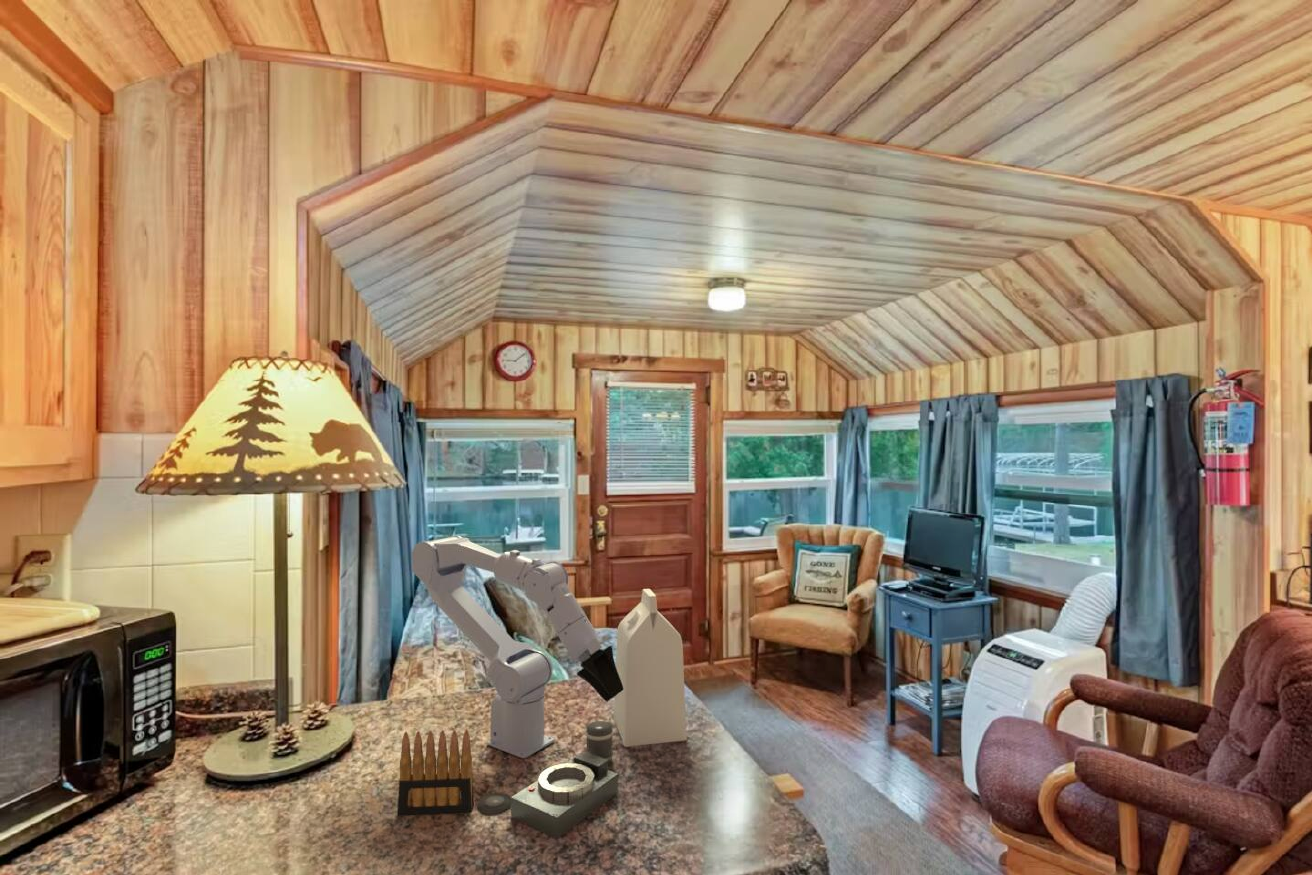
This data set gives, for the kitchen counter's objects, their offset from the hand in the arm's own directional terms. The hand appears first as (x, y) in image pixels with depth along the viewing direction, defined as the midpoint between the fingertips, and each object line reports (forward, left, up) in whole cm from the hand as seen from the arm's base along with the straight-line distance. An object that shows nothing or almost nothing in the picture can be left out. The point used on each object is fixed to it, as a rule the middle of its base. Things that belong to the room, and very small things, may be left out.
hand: (615, 695), depth 109 cm
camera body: (0, -12, -12) cm, 17 cm away
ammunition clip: (-15, -24, -13) cm, 31 cm away
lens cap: (-9, -18, -13) cm, 24 cm away
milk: (-4, +16, -13) cm, 21 cm away
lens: (-4, +1, -12) cm, 13 cm away
